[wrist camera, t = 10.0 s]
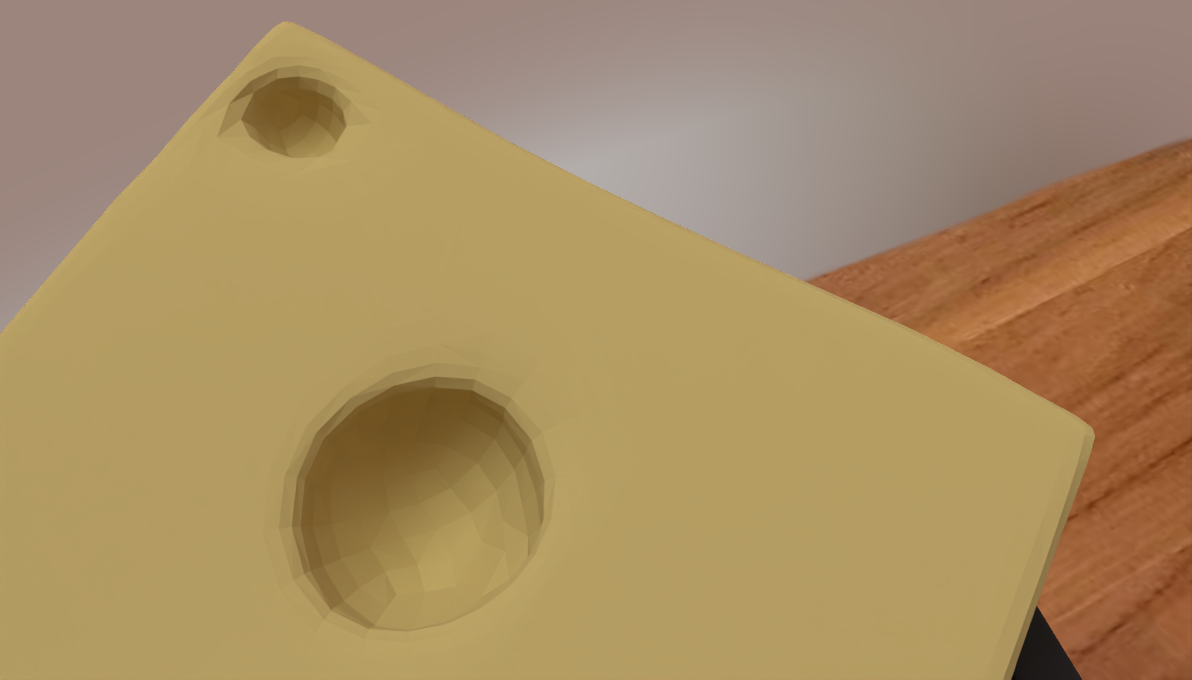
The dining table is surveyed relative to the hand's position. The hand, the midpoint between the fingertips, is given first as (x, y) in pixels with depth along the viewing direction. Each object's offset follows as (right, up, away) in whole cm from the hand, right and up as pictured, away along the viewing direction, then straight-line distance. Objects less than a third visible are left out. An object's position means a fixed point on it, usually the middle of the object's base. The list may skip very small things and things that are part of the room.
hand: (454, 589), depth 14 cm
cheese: (0, -3, +4) cm, 5 cm away
